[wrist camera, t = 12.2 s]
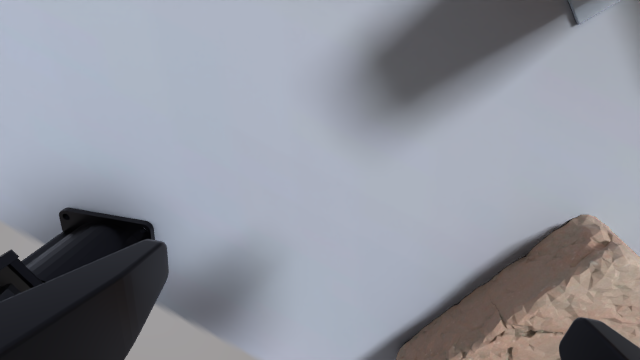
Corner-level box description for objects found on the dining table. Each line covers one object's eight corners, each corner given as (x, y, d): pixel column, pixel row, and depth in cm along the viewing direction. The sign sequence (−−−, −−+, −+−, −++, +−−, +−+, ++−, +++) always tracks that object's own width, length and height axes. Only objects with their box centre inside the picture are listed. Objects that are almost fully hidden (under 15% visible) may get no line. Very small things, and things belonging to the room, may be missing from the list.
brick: (579, 203, 20) (636, 253, 16) (666, 279, 22) (740, 342, 17) (388, 344, 27) (392, 405, 23) (465, 395, 28) (483, 461, 24)
